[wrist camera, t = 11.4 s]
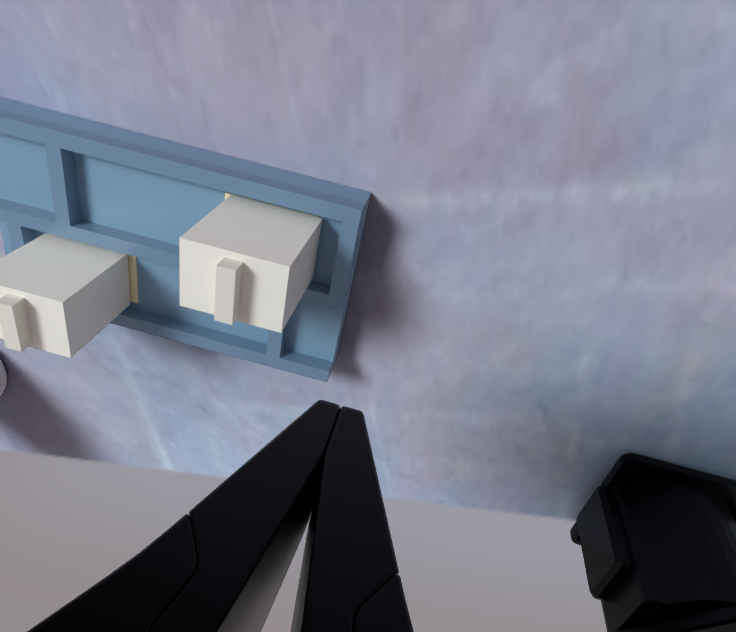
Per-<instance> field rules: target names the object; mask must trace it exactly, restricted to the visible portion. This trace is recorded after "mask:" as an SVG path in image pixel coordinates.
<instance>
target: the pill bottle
mask: <svg viewBox="0 0 736 632" xmlns="http://www.w3.org/2000/svg"><path fill="white" fill-rule="evenodd" d="M6 383H7V374H6V371H5V367H4V365H3V363H2V361H1V359H0V396H1V395H2V393H3V391H4V389H5V387H6Z"/></svg>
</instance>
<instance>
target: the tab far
mask: <svg viewBox="0 0 736 632" xmlns="http://www.w3.org/2000/svg"><path fill="white" fill-rule="evenodd" d="M129 305H130V290H129V275H128V259H127V254H123V253H120V252H116V251H112V250H109V249H105V248H101V247H97V246H94V245H90V244H86V243H82V242H79V241H75V240H71V239H67V238H64V237H60V236H56V235H53V234H49V233H45V234H43V235H41V236H40V237H38V238H36V239H34V240H32V241H31V242H29V243H27V244H25V245H24V246H22V247H20V248H18V249H16V250H15V251H13V252H11V253H9V254H8V255H6V256H4V257H2V258H0V338H1V339H4V341H5V346H6V348H9V349H13V350H16V351H20V352H22V351H23V350H25V349H26V348H27V347H28V346H29V347H33V348H37V349H40V350H44V351H47V352H51V353H55V354H58V355H62V356H65V357H69V358H71V357H73V356H74V355H75V354H76V353H77V352H78V351H79V350H80V349H81V348H83V347H84V346H85V345H86V344H87V343H88V342H89V341H90V340H91V339H93V338H94V337H95V336H96V335H97V334H98V333H99V332H100V331H101V330H102V329H104V328H105V327H106V326H107V325H108V324H109V323H110V322H111V321H112V320H114V319H115V318H116V317H117V316H118V315H119V314H120V313H121V312H122V311H124V310H125V309H126V308H127V307H128V306H129Z"/></svg>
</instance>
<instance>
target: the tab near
mask: <svg viewBox="0 0 736 632" xmlns="http://www.w3.org/2000/svg"><path fill="white" fill-rule="evenodd" d="M321 225H322V218H318V217H315V216H311V215H307V214H303V213H299V212H295V211H291V210H288V209H284V208H280V207H276V206H272V205H268V204H265V203H261V202H257V201H253V200H249V199H245V198H242V197H238V196H234V195H230V196H229V197H228V198H227V199H225V200H224V201H223V202H222V203H221V204H219V205H218V206H217V207H216V208H215V209H213V210H212V211H211V212H210V213H209V214H207V215H206V216H205V217H204V218H203V219H201V220H200V221H199V222H198V223H196V224H195V225H194V226H193V227H192V228H190V229H189V230H188V231H187V232H186V233H184V234H183V235H182V236H181V237H180V238H179V262H180V306H183V307H187V308H191V309H194V310H198V311H202V312H206V313H209V314H213V315H214V320H215V321H219V322H222V323H226V324H230V325H233V323H234V322H235V321H239V322H242V323H246V324H250V325H254V326H257V327H261V328H265V329H268V330H272V331H276V332H279V333H281V332H282V331H283V329H284V327H285V325H286V324H287V322H288V320H289V318H290V317H291V315H292V313H293V311H294V310H295V308H296V306H297V304H298V303H299V301H300V299H301V298H302V296H303V294H304V292H305V291H306V289H307V287H308V285H309V284H310V282H311V280H312V278H313V275H314V269H315V263H316V257H317V250H318V244H319V238H320V232H321Z"/></svg>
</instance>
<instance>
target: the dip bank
mask: <svg viewBox="0 0 736 632" xmlns="http://www.w3.org/2000/svg"><path fill="white" fill-rule="evenodd" d="M230 195H234V196H238V197H242V198H245V199H249V200H253V201H257V202H261V203H265V204H268V205H272V206H276V207H280V208H284V209H288V210H291V211H295V212H299V213H303V214H307V215H311V216H315V217H318V218H322V225H321V232H320V238H319V244H318V250H317V257H316V263H315V269H314V275H313V278H312V280H311V282H310V284H309V285H308V287H307V289H306V291H305V292H304V294H303V296H302V298H301V299H300V301H299V303H298V304H297V306H296V308H295V310H294V311H293V313H292V315H291V317H290V318H289V320H288V322H287V324H286V325H285V327H284V329H283V331H282V332H281V333H279V332H276V331H272V330H268V329H265V328H261V327H257V326H254V325H250V324H246V323H242V322H239V321H235V322H234V323H233V325H230V324H226V323H222V322H219V321H215V320H214V315H213V314H209V313H206V312H202V311H198V310H194V309H191V308H187V307H183V306H180V262H179V238H180V237H181V236H182V235H183V234H184V233H186V232H187V231H188V230H189V229H190V228H192V227H193V226H194V225H195V224H196V223H198V222H199V221H200V220H201V219H203V218H204V217H205V216H206V215H207V214H209V213H210V212H211V211H212V210H213V209H215V208H216V207H217V206H218V205H219V204H221V203H222V202H223V201H224V200H225V199H227V198H228V197H229V196H230ZM370 196H371V192H367V191H363V190H359V189H355V188H351V187H348V186H344V185H340V184H336V183H332V182H328V181H324V180H320V179H316V178H313V177H309V176H305V175H301V174H297V173H293V172H289V171H285V170H281V169H278V168H274V167H270V166H266V165H262V164H258V163H254V162H250V161H246V160H243V159H239V158H235V157H231V156H227V155H223V154H219V153H215V152H211V151H208V150H204V149H200V148H196V147H192V146H188V145H184V144H180V143H176V142H173V141H169V140H165V139H161V138H157V137H153V136H149V135H145V134H141V133H138V132H134V131H130V130H126V129H122V128H118V127H114V126H110V125H106V124H103V123H99V122H95V121H91V120H87V119H83V118H79V117H75V116H71V115H68V114H64V113H60V112H56V111H52V110H48V109H44V108H40V107H36V106H33V105H29V104H25V103H21V102H17V101H13V100H9V99H5V98H2V97H0V229H1V233H2V238H3V243H4V248H5V253H6V255H8V254H9V253H11V252H13V251H15V250H16V249H18V248H20V247H22V246H24V245H25V244H27V243H29V242H31V241H32V240H34V239H36V238H38V237H40V236H41V235H43V234H45V233H49V234H53V235H56V236H60V237H64V238H67V239H71V240H75V241H79V242H82V243H86V244H90V245H94V246H97V247H101V248H105V249H109V250H112V251H116V252H120V253H123V254H127V259H128V275H129V290H130V305H129V306H128V307H127V308H126V309H125V310H124V311H122V312H121V313H120V314H119V315H118V316H117V317H116V318H115V319H114V320H112V321H111V322H110V323H112V324H116V325H120V326H123V327H127V328H131V329H134V330H138V331H142V332H145V333H149V334H153V335H156V336H160V337H164V338H167V339H171V340H175V341H178V342H182V343H185V344H189V345H193V346H196V347H200V348H204V349H207V350H211V351H215V352H218V353H222V354H226V355H229V356H233V357H237V358H240V359H244V360H248V361H251V362H255V363H259V364H262V365H266V366H269V367H273V368H277V369H280V370H284V371H288V372H291V373H295V374H299V375H302V376H306V377H310V378H313V379H317V380H321V381H324V382H327V381H328V378H329V376H330V373H331V370H332V368H333V365H334V363H335V360H336V357H337V353H338V349H339V344H340V339H341V334H342V330H343V325H344V320H345V315H346V310H347V306H348V301H349V296H350V291H351V287H352V282H353V277H354V272H355V268H356V263H357V258H358V253H359V248H360V244H361V239H362V234H363V229H364V225H365V220H366V215H367V210H368V205H369V201H370Z"/></svg>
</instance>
